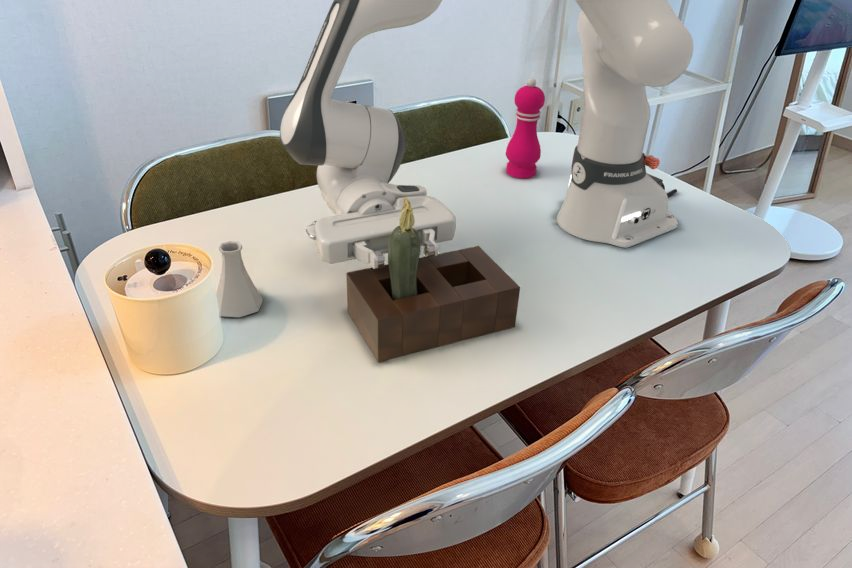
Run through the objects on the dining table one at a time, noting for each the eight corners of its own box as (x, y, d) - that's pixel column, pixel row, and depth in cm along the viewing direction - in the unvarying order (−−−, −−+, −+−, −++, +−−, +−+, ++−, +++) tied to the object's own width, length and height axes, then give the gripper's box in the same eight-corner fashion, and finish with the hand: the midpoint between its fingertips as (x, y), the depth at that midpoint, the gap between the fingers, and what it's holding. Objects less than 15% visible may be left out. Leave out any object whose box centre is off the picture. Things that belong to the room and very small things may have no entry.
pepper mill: (520, 163, 152) (531, 71, 141) (545, 174, 147) (558, 80, 136) (496, 171, 148) (506, 76, 137) (521, 182, 143) (533, 86, 132)
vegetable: (414, 338, 98) (418, 210, 87) (384, 333, 99) (384, 206, 88) (420, 320, 102) (425, 195, 91) (391, 315, 102) (392, 192, 91)
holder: (475, 283, 110) (478, 245, 106) (515, 327, 101) (520, 287, 97) (347, 312, 103) (346, 272, 99) (378, 362, 93) (377, 320, 89)
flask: (213, 322, 99) (204, 262, 94) (212, 294, 105) (202, 236, 100) (265, 315, 101) (258, 256, 96) (260, 288, 107) (254, 231, 102)
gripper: (300, 205, 98) (331, 251, 87) (432, 183, 105) (475, 224, 95) (303, 244, 101) (333, 293, 91) (430, 220, 109) (471, 263, 98)
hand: (406, 257), depth 93 cm, fingers open, 6 cm apart
